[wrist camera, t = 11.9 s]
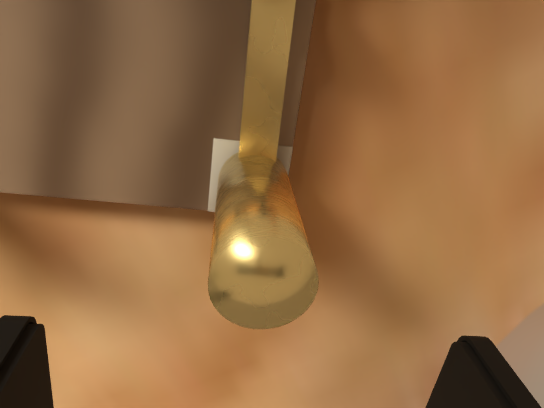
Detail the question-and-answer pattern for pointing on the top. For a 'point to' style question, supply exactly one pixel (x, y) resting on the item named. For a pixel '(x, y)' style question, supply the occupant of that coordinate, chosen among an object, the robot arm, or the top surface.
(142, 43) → the stool seat
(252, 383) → the top surface
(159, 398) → the top surface
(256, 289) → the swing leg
